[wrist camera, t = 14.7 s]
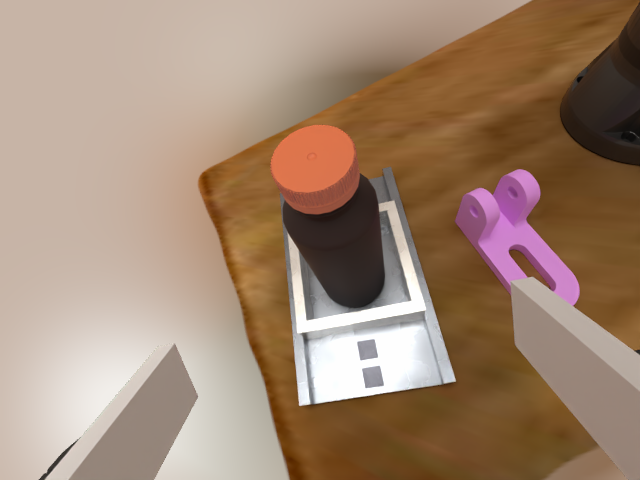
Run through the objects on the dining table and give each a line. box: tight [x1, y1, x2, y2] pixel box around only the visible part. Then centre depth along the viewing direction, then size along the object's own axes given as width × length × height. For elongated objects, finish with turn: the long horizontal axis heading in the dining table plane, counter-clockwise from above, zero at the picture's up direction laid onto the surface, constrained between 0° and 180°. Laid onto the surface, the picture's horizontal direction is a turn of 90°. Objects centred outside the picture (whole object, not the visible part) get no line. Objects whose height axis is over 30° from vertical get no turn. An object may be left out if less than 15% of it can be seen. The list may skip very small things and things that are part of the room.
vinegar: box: [270, 125, 385, 307], centre depth 27 cm, size 7×7×20 cm
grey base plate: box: [280, 167, 456, 406], centre depth 35 cm, size 14×24×4 cm, turn 8°
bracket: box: [455, 169, 579, 306], centre depth 31 cm, size 13×6×7 cm, turn 23°
